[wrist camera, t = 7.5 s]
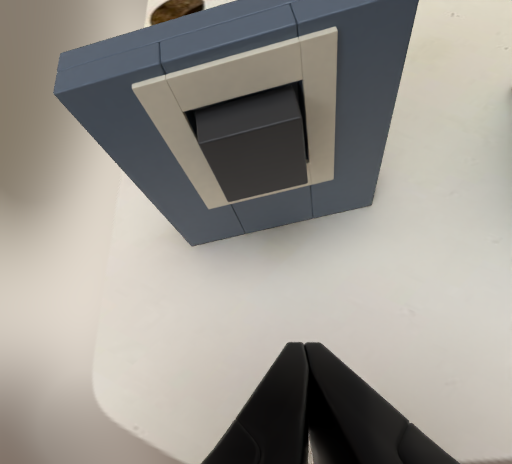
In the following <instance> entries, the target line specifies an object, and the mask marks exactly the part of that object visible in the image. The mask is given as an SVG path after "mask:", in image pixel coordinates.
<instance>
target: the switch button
mask: <svg viewBox="0 0 512 464" xmlns="http://www.w3.org/2000/svg"><path fill="white" fill-rule="evenodd" d="M195 116H196V126H197V136H198V145H199V147H200V149H201V151H202V152H203V154H204V156H205V158H206V160H207V162H208V164H209V166H210V168H211V170H212V172H213V174H214V176H215V178H216V180H217V182H218V184H219V186H220V188H221V190H222V191H223V193H224V195H225V197H226V199H227V201H228V202H232V201H237V200H241V199H245V198H249V197H253V196H257V195H262V194H266V193H270V192H274V191H278V190H282V189H287V188H291V187H295V186H299V185H303V184H307V183H308V177H307V166H306V155H305V144H304V133H303V122H302V115H301V112H300V109H299V105H298V102H297V99H296V95H295V92H294V89H293V86H292V85H290V86H286V87H282V88H278V89H275V90H271V91H267V92H264V93H260V94H256V95H253V96H249V97H245V98H241V99H238V100H234V101H230V102H227V103H223V104H219V105H216V106H212V107H208V108H204V109H201V110H197V111H196V112H195Z"/></svg>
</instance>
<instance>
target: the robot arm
mask: <svg viewBox="0 0 512 464" xmlns="http://www.w3.org/2000/svg"><path fill="white" fill-rule="evenodd" d="M309 438H310V444H311V450H312V455H313V459H314V464H460V463H459V462H458V461H456V460H455V459H454V458H452V457H451V456H450V455H449V454H447V453H446V452H445V451H444V450H443V449H441V448H440V447H439V446H438V445H437V444H436V443H434V442H433V441H432V440H431V439H430V438H428V437H427V436H426V435H425V434H424V433H423V432H421V431H420V430H419V429H418V428H417V427H416V426H415V425H414V424H412V423H409V420H408V419H407V418H405V417H404V416H403V415H402V414H401V413H400V412H399V411H397V410H396V409H395V408H394V407H393V406H392V405H391V404H390V403H388V402H387V401H386V400H385V399H384V398H383V397H382V396H380V395H379V394H378V393H377V392H376V391H375V390H374V389H373V388H371V387H370V386H369V385H368V384H367V383H366V382H365V381H363V380H362V379H361V378H360V377H359V376H358V375H357V374H356V373H354V372H353V371H352V370H351V369H350V368H349V367H348V366H346V365H345V364H344V363H343V362H342V361H341V360H340V359H339V358H337V357H336V356H335V355H334V354H333V353H332V352H331V351H330V350H328V349H327V348H326V347H325V346H324V345H323V344H321V343H319V342H307V343H305V344H303V343H301V342H289V343H287V344H286V346H285V347H284V349H283V350H282V352H281V353H280V355H279V356H278V357H277V359H276V360H275V362H274V363H273V365H272V366H271V368H270V369H269V371H268V372H267V373H266V375H265V376H264V378H263V379H262V381H261V382H260V384H259V385H258V387H257V388H256V389H255V391H254V392H253V394H252V395H251V397H250V398H249V400H248V401H247V403H246V404H245V405H244V407H243V408H242V410H241V411H240V413H239V414H238V416H237V417H236V420H234V421H233V423H232V424H231V426H230V427H229V429H228V430H227V431H226V433H225V434H224V436H223V437H222V438H221V440H220V441H219V442H218V444H217V445H216V446H215V448H214V449H213V450H212V451H211V453H210V454H209V455H208V456H207V457H206V458H205V460H204V461H203V462H202V463H201V464H308V452H309Z"/></svg>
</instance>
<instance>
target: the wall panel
mask: <svg viewBox="0 0 512 464" xmlns="http://www.w3.org/2000/svg"><path fill="white" fill-rule="evenodd" d="M418 2H419V0H236V1H233V2H230V3H226V4H223V5H220V6H216V7H213V8H210V9H206V10H203V11H200V12H196V13H193V14H190V15H186V16H183V17H180V18H176V19H173V20H170V21H166V22H163V23H160V24H156V25H153V26H150V27H146V28H143V29H140V30H136V31H133V32H130V33H127V34H123V35H120V36H116V37H113V38H110V39H106V40H103V41H100V42H96V43H93V44H90V45H86V46H83V47H80V48H77V49H73V50H70V51H66V52H63V53H61V54H60V57H59V63H58V68H57V72H58V73H57V75H56V81H55V86H54V92H53V93H54V95H55V96H56V97H57V98H58V99H59V100H60V102H61V103H62V104H63V105H64V106H65V107H66V108H67V109H68V110H69V112H71V114H72V115H73V116H74V117H75V118H76V119H77V120H78V121H79V122H80V124H81V125H82V126H83V127H84V128H85V129H86V130H87V131H88V132H89V134H90V135H91V136H92V137H93V138H94V139H95V140H96V141H97V142H98V144H99V145H100V146H101V147H102V148H103V149H104V150H105V151H106V152H107V153H108V155H110V157H111V158H112V159H113V160H114V161H115V162H116V163H117V164H118V166H119V167H120V168H121V169H122V170H123V171H124V172H125V173H126V174H127V176H128V177H129V178H130V179H131V180H132V181H133V182H134V183H135V184H136V185H137V187H138V188H139V189H140V190H141V191H142V192H143V193H144V194H145V195H146V197H147V198H148V199H149V200H150V201H151V202H152V203H153V204H154V205H155V206H156V208H157V209H158V210H159V211H160V212H161V213H162V214H163V215H164V216H165V217H166V219H167V220H168V221H169V222H170V223H171V224H172V225H173V226H174V227H175V229H176V230H177V231H178V232H179V233H180V234H181V235H182V236H183V237H184V238H185V240H186V241H187V242H188V243H189V244H190V245H191V246H194V245H199V244H203V243H207V242H212V241H216V240H221V239H225V238H229V237H234V236H238V235H242V234H245V233H251V232H256V231H260V230H264V229H269V228H273V227H277V226H282V225H286V224H290V223H295V222H299V221H304V220H308V219H312V218H317V217H321V216H326V215H330V214H334V213H339V212H343V211H347V210H352V209H356V208H361V207H365V206H369V205H372V201H373V197H374V193H375V188H376V184H377V180H378V175H379V171H380V166H381V162H382V158H383V153H384V149H385V145H386V140H387V136H388V132H389V127H390V123H391V119H392V114H393V110H394V106H395V101H396V97H397V93H398V88H399V84H400V80H401V75H402V71H403V67H404V62H405V58H406V54H407V49H408V45H409V41H410V36H411V32H412V28H413V23H414V19H415V15H416V10H417V6H418ZM290 85H292V86H293V89H294V92H295V95H296V99H297V102H298V105H299V109H300V112H301V115H302V122H303V133H304V144H305V155H306V166H307V177H308V183H307V184H303V185H299V186H295V187H291V188H287V189H282V190H278V191H274V192H270V193H266V194H262V195H257V196H253V197H249V198H245V199H241V200H237V201H232V202H228V201H227V199H226V197H225V195H224V193H223V191H222V190H221V188H220V186H219V184H218V182H217V180H216V178H215V176H214V174H213V172H212V170H211V168H210V166H209V164H208V162H207V160H206V158H205V156H204V154H203V152H202V151H201V149H200V147H199V145H198V136H197V126H196V116H195V112H196V111H197V110H201V109H204V108H208V107H212V106H216V105H219V104H223V103H227V102H230V101H234V100H238V99H241V98H245V97H249V96H253V95H256V94H260V93H264V92H267V91H271V90H275V89H278V88H282V87H286V86H290Z"/></svg>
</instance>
